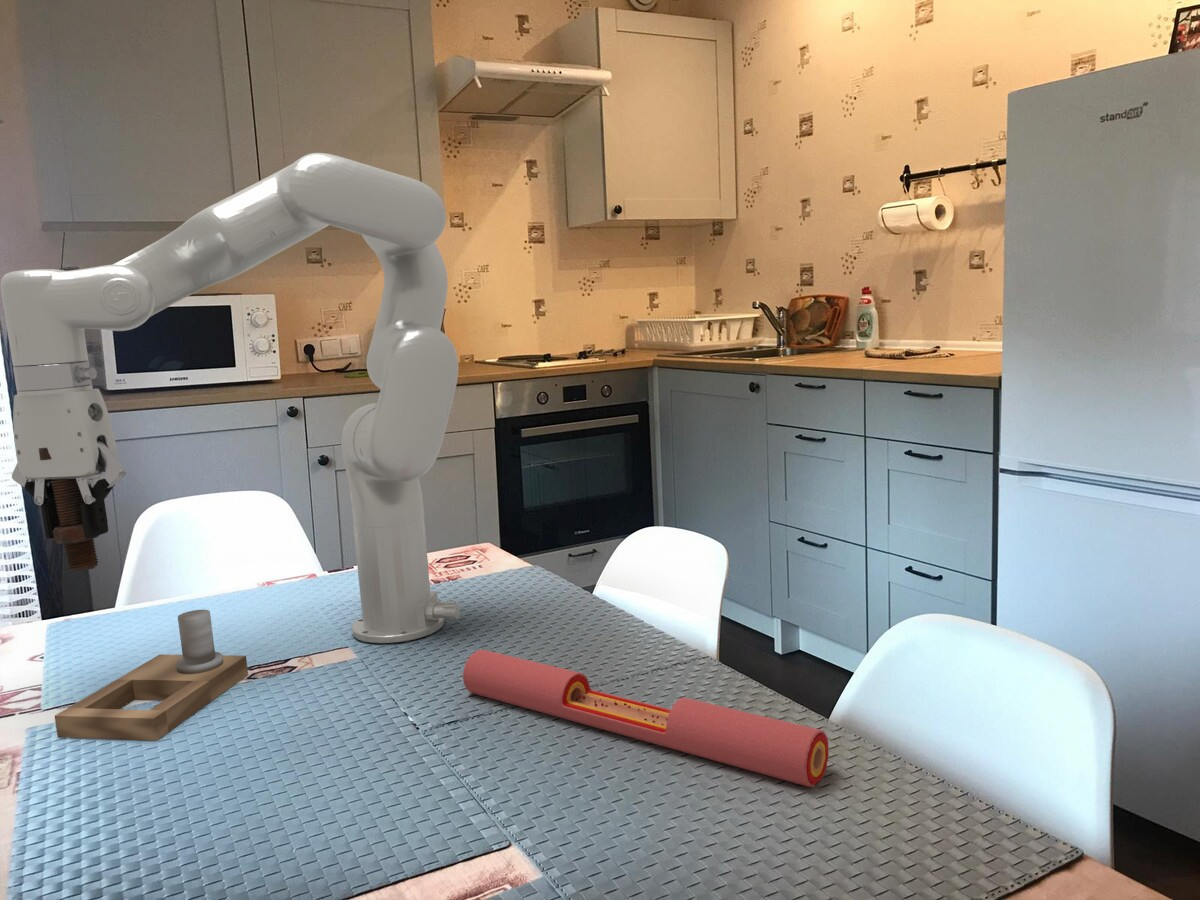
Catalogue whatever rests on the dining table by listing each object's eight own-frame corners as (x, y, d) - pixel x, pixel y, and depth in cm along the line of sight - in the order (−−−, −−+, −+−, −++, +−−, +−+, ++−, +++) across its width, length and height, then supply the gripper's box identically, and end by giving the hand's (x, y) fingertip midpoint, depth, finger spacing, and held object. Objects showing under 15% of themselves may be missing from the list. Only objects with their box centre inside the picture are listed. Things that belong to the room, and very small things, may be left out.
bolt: (83, 574, 107) (59, 444, 105) (46, 577, 108) (21, 448, 107) (119, 561, 113) (96, 438, 111) (84, 564, 114) (60, 441, 112)
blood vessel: (830, 773, 86) (829, 721, 85) (807, 798, 82) (805, 744, 81) (494, 684, 111) (490, 643, 110) (463, 699, 107) (460, 657, 106)
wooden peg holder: (248, 674, 117) (240, 605, 116) (156, 740, 100) (145, 659, 99) (161, 673, 120) (152, 605, 118) (57, 737, 102) (45, 658, 101)
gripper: (141, 373, 109) (162, 526, 112) (16, 380, 113) (40, 528, 116) (95, 379, 102) (119, 542, 105) (-37, 386, 105) (-10, 544, 108)
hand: (77, 533), depth 110 cm, fingers closed on bolt, 4 cm apart
